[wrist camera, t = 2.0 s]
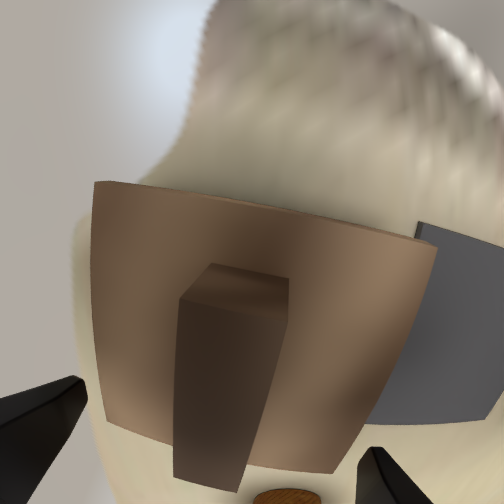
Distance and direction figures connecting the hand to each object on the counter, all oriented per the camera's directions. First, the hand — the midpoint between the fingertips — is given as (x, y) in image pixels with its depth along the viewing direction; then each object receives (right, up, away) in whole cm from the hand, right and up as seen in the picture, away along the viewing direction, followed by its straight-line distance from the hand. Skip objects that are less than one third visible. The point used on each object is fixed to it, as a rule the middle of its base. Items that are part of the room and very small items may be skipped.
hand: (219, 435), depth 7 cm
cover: (0, +1, +4) cm, 4 cm away
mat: (+15, -1, +7) cm, 16 cm away
